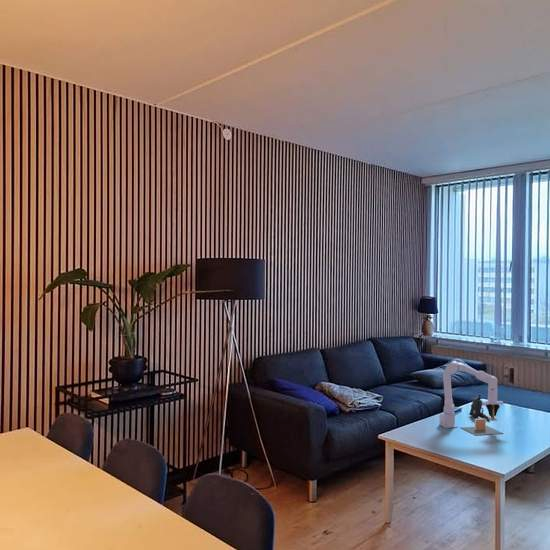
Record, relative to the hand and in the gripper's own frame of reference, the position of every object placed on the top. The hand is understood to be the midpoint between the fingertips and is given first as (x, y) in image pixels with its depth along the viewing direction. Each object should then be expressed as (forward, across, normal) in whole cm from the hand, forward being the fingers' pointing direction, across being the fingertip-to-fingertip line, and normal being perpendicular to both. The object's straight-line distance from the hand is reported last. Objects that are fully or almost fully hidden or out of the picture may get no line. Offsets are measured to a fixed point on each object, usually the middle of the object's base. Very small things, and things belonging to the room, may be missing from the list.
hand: (492, 415), depth 318 cm
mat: (+10, -6, +3) cm, 12 cm away
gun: (+11, +11, +29) cm, 33 cm away
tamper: (+3, 0, 0) cm, 3 cm away
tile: (+10, -6, +4) cm, 12 cm away
